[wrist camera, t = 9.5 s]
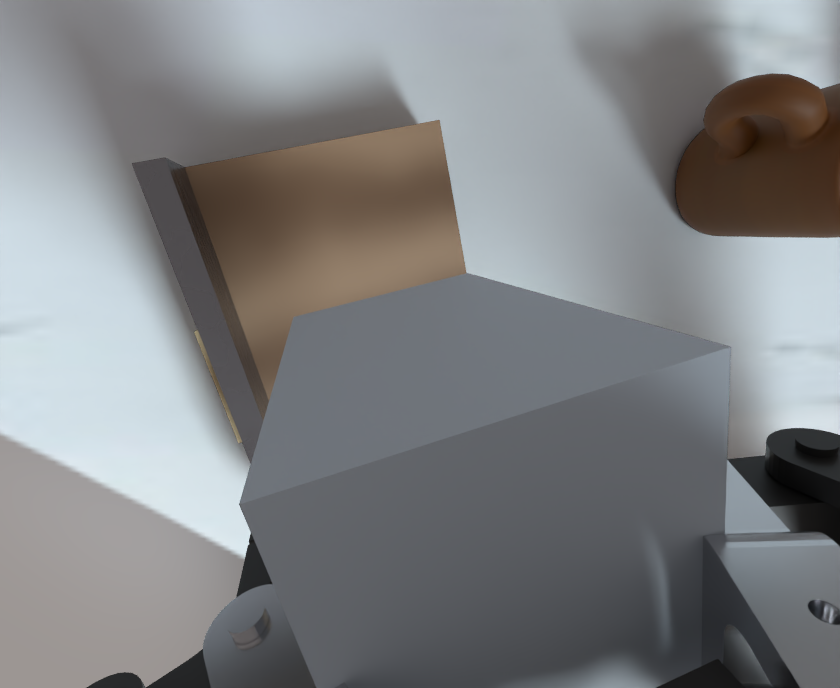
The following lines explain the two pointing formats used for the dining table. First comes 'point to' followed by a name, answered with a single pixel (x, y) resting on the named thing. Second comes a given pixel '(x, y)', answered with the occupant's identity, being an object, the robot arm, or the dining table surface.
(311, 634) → the carton
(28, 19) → the dining table surface
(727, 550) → the robot arm
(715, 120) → the mug
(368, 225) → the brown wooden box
